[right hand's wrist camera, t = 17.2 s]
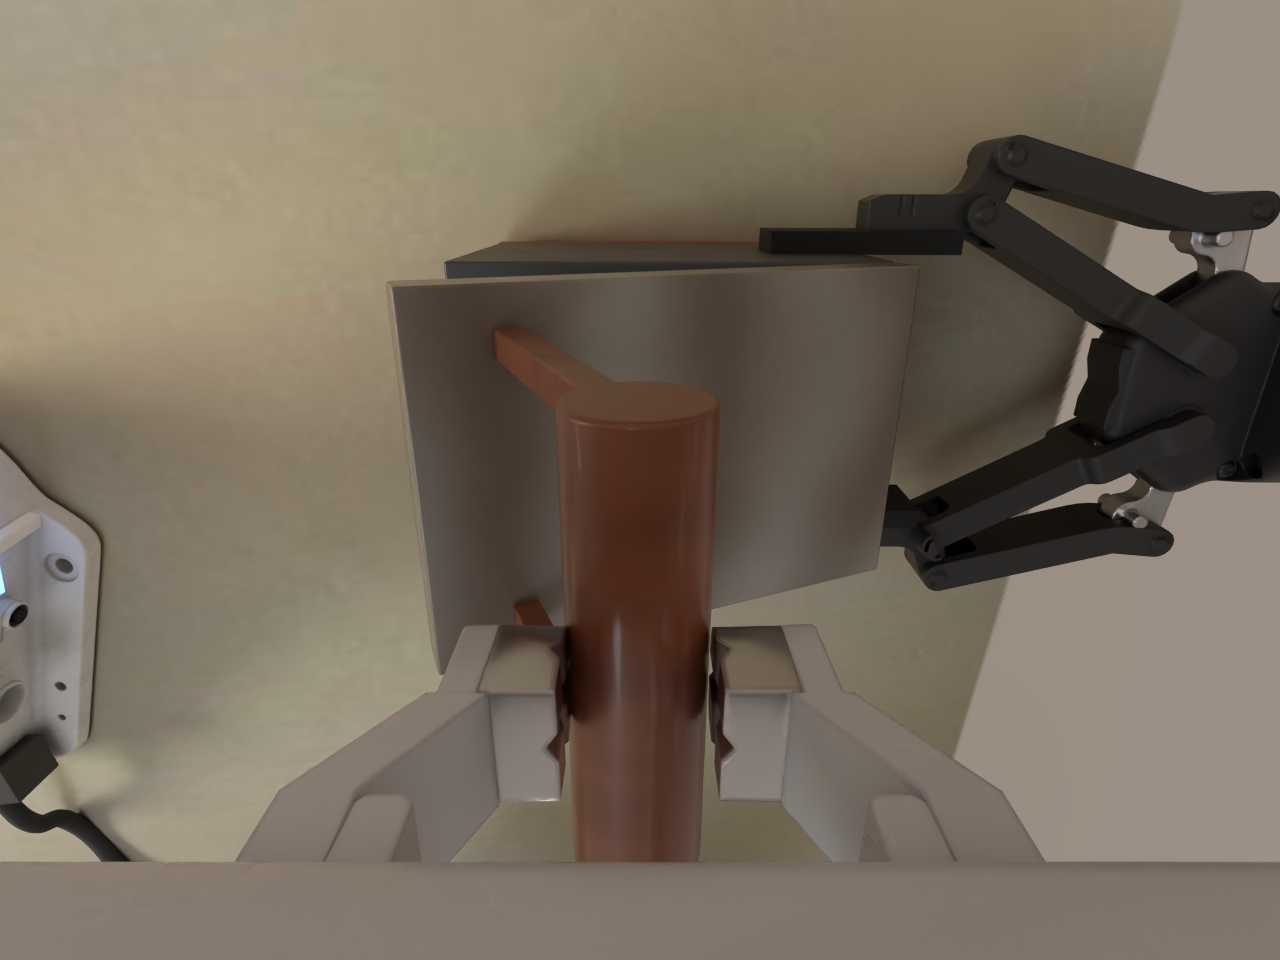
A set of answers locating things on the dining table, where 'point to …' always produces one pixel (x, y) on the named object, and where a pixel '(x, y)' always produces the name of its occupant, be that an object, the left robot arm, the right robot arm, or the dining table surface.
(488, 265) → the chest
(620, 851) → the lid
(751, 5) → the dining table surface
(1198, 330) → the left robot arm
